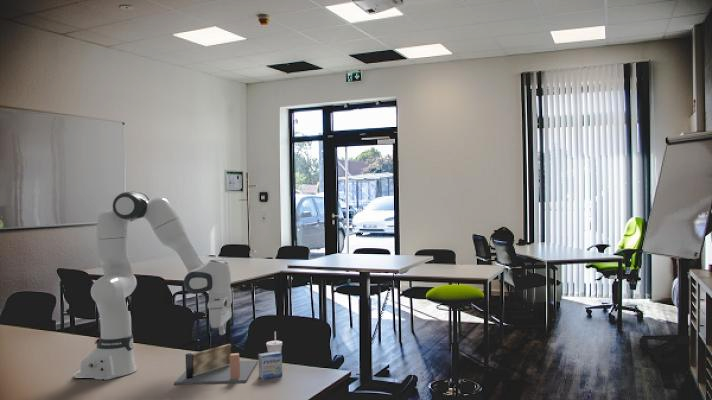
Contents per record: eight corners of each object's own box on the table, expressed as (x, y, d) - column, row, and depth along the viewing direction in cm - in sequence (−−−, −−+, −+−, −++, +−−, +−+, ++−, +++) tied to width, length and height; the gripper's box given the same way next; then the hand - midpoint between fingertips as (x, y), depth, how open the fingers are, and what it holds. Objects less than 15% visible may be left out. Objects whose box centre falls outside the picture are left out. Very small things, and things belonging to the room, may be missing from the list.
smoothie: (280, 369, 210) (278, 333, 210) (264, 369, 211) (263, 333, 211) (285, 364, 216) (284, 329, 216) (270, 364, 218) (269, 329, 217)
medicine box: (262, 379, 199) (261, 356, 199) (258, 376, 203) (257, 353, 203) (282, 376, 203) (282, 352, 203) (278, 372, 207) (278, 350, 207)
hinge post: (185, 380, 200) (184, 355, 200) (187, 378, 203) (186, 353, 203) (191, 380, 200) (191, 354, 200) (193, 378, 203) (193, 353, 203)
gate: (194, 374, 202) (193, 354, 202) (190, 373, 204) (189, 353, 204) (232, 363, 216) (231, 344, 216) (228, 362, 217) (227, 343, 217)
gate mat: (174, 384, 197) (174, 382, 197) (193, 364, 221) (193, 362, 221) (246, 382, 197) (246, 380, 197) (257, 362, 221) (257, 360, 221)
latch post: (230, 381, 198) (229, 355, 198) (232, 379, 201) (231, 353, 201) (238, 381, 198) (237, 355, 198) (240, 378, 201) (239, 353, 201)
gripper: (219, 295, 229) (221, 328, 229) (206, 305, 209) (207, 341, 209) (234, 294, 229) (235, 327, 229) (222, 304, 209) (224, 340, 209)
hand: (222, 334), depth 219 cm, fingers closed
